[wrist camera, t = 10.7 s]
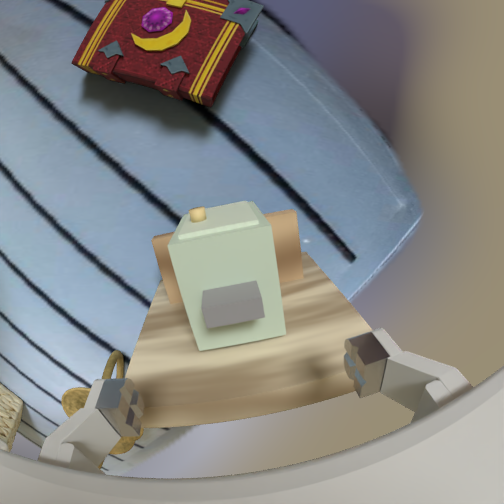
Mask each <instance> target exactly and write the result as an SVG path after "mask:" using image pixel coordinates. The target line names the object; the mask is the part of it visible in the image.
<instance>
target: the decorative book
mask: <svg viewBox="0 0 504 504" xmlns="http://www.w3.org/2000/svg"><path fill="white" fill-rule="evenodd" d="M105 3H106V4H105V5H104V7H103V8H102V10H101V11H100V13H99V14H98V16H97V17H96V19H95V21H94V22H93V24H92V26H91V27H90V29H89V31H88V32H87V34H86V36H85V38H84V40H83V41H82V43H81V45H80V47H79V49H78V51H77V53H76V55H75V57H74V59H73V61H72V63H71V64H73V65H75V66H77V67H79V68H80V69H82V70H84V71H86V72H89V73H94V74H98V75H102V76H103V77H105V78H106V79H108V80H112V81H116V82H120V83H124V84H125V82H126V81H128V82H132V83H136V84H139V85H143V86H146V87H150V88H153V89H157V90H159V91H160V92H161V93H162V94H163V95H166V96H169V97H172V98H175V99H178V100H181V101H182V100H183V98H185V99H188V100H191V101H194V102H197V103H200V104H202V105H205V106H208V107H212V105H213V103H214V101H215V99H216V97H217V95H218V93H219V90H220V88H221V86H222V84H223V82H224V80H225V78H226V76H227V74H228V73H229V71H230V69H231V67H232V65H233V63H234V61H235V59H236V57H237V55H238V54H239V52H240V50H241V48H242V49H243V48H244V46H245V44H246V42H247V41H248V39H249V37H250V35H251V34H252V32H253V30H254V29H255V27H256V25H257V23H258V20H256V19H257V17H258V16H259V14H260V13H261V11H262V9H263V5H260V4H257V3H254V2H251V1H248V0H105Z"/></svg>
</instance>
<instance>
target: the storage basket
mask: <svg viewBox="0 0 504 504" xmlns="http://www.w3.org/2000/svg"><path fill="white" fill-rule="evenodd" d="M22 409H23V401H22V400H21V399H20V398H18V397H17V396H16V395H15V394H14V393H13V392H11V391H10V390H8V389H7V388H6V387H4V385H2V384H1V383H0V449H2V450H5V451H8V452H10V450H11V449H12V443H13V442H14V439H15V435H16V432H17V429H18V428H19V425H20V421H21V417H22Z"/></svg>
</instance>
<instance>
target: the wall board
mask: <svg viewBox="0 0 504 504" xmlns="http://www.w3.org/2000/svg"><path fill="white" fill-rule="evenodd" d="M263 215H264V216H265V218H266V219H267V220H268V222H269V223H270V224H271V227H272V233H273V240H274V247H275V254H276V261H277V268H278V275H279V283H280V290H281V297H282V305H283V312H284V320H285V328H286V335H282V336H277V337H273V338H268V339H263V340H258V341H253V342H248V343H243V344H238V345H232V346H227V347H221V348H215V349H209V350H203V351H199V348H198V346H197V343H196V340H195V337H194V334H193V331H192V328H191V325H190V321H189V318H188V315H187V312H186V309H185V306H184V302H183V299H182V296H181V292H180V289H179V286H178V282H177V279H176V275H175V272H174V268H173V265H172V261H171V257H170V253H169V250H168V244H169V242H170V240H171V238H172V236H173V234H174V232H171V233H167V234H162V235H157V236H154V237H153V239H152V244H153V248H154V251H155V255H156V258H157V262H158V265H159V269H160V272H161V275H162V279H163V280H161V281H160V283H159V286H158V288H157V291H156V293H155V296H154V298H153V301H152V303H151V306H150V309H149V311H148V314H147V316H146V319H145V322H144V324H143V327H142V330H141V333H140V335H139V338H138V341H137V344H136V346H135V349H134V352H133V355H132V358H131V361H130V364H129V367H128V370H127V373H126V376H125V378H129V379H131V380H132V382H133V383H134V390H136V391H138V392H139V393H140V395H141V396H142V399H143V402H144V413H143V415H142V416H141V417H140V418H139V420H140V421H141V423H142V425H141V428H163V427H179V426H192V425H201V424H211V423H219V422H226V421H232V420H239V419H245V418H251V417H257V416H262V415H267V414H272V413H277V412H281V411H286V410H290V409H294V408H298V407H302V406H306V405H310V404H314V403H317V402H321V401H324V400H328V399H331V398H335V397H338V396H341V395H344V394H347V393H350V392H353V391H356V390H355V388H354V387H353V385H354V380H352V379H349V377H348V375H347V373H346V371H345V367H344V355H345V354H346V352H347V351H346V349H345V348H344V343H345V340H346V339H348V338H351V337H355V336H358V335H361V334H364V333H367V332H370V331H373V330H372V329H371V328H370V326H369V325H368V324H367V323H366V322H365V320H364V319H363V318H362V317H361V316H360V314H359V313H358V312H357V311H356V309H355V308H354V307H353V306H352V305H351V303H350V302H349V301H348V300H347V299H346V298H345V296H344V295H343V294H342V293H341V292H340V291H339V289H338V288H337V287H336V286H335V285H334V283H333V282H332V281H331V280H330V279H329V278H328V277H327V275H326V274H325V273H324V272H323V271H322V270H321V268H320V267H319V266H318V265H317V264H316V263H315V262H314V260H313V259H312V258H311V257H310V256H309V255H308V254H307V253H306V252H302V253H301V247H300V239H299V230H298V222H297V214H296V211H294V210H293V209H290V210H284V211H279V212H273V213H268V214H263Z"/></svg>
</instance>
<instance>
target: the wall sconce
mask: <svg viewBox="0 0 504 504" xmlns="http://www.w3.org/2000/svg"><path fill="white" fill-rule="evenodd" d="M116 361H117V376H116V379H120V378H123V369H124V363H123V355H122V353H121V352H120V351H118V350H116V351H114V352H113V353H112V354H111V355H110V357H109V359H108V361H107V364H106V366H105V369H104V372H103V376H102V379H111V376H112V372H113V369H114V366H115V364H116ZM90 390H91V388H84V387H78V388H72V389H69V390H67V391H66V392H65V393H64V394H63V396H62V406H63V409H64V411H65V413H66V414H67V416H68V417H69V418H70V417H71V416H72V415H73V414H75V413H76V412H77V411H78V410H79V409H80V408H84V406H85V403H86V401H87V398H88V395H89V393H90ZM143 431H144V429H143V428H141V431H140V436H132V437H121V438H120V440H119V441H118V442H117V443H116V445H115V446H114V447H113V449H112V450H111V451H110V452H109V454H122V453H125V452H127V451H129V450H130V449H131V448H132V447H133V445H134V443H135V441H136V440H138V439H139V438H140V437H141V436H142V434H143ZM103 462H104V460H103V461H102V463H101V464H100V465H99V466H98V468H99V469H101V466H102V464H103Z"/></svg>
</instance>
